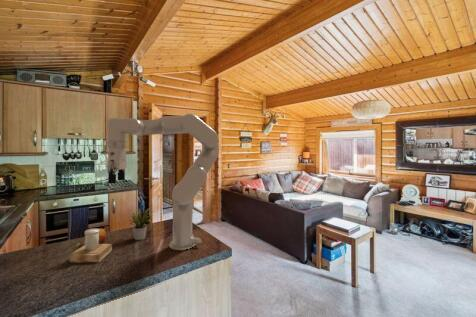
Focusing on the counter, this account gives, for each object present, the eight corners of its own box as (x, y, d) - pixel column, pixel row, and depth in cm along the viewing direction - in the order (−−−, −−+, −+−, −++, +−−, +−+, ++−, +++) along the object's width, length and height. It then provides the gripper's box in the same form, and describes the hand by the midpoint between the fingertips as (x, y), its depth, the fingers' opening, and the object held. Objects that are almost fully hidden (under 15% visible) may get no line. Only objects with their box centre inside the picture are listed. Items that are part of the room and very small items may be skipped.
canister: (101, 246, 113) (101, 228, 112) (95, 251, 107) (95, 232, 107) (88, 246, 112) (88, 228, 112) (81, 251, 107) (81, 232, 106)
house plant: (158, 233, 140) (158, 204, 140) (153, 242, 127) (153, 210, 126) (132, 233, 138) (132, 204, 138) (124, 243, 125) (124, 211, 124)
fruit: (112, 236, 130) (107, 226, 125) (103, 249, 123) (98, 238, 119) (97, 235, 131) (92, 225, 126) (88, 248, 124) (82, 238, 120)
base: (111, 250, 116) (111, 243, 116) (99, 262, 104) (99, 254, 104) (85, 250, 115) (85, 243, 115) (69, 262, 103) (69, 254, 103)
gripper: (117, 145, 107) (117, 184, 107) (131, 145, 124) (131, 179, 125) (99, 144, 106) (99, 184, 107) (116, 145, 124) (116, 179, 124)
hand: (116, 181), depth 116 cm, fingers open, 9 cm apart
